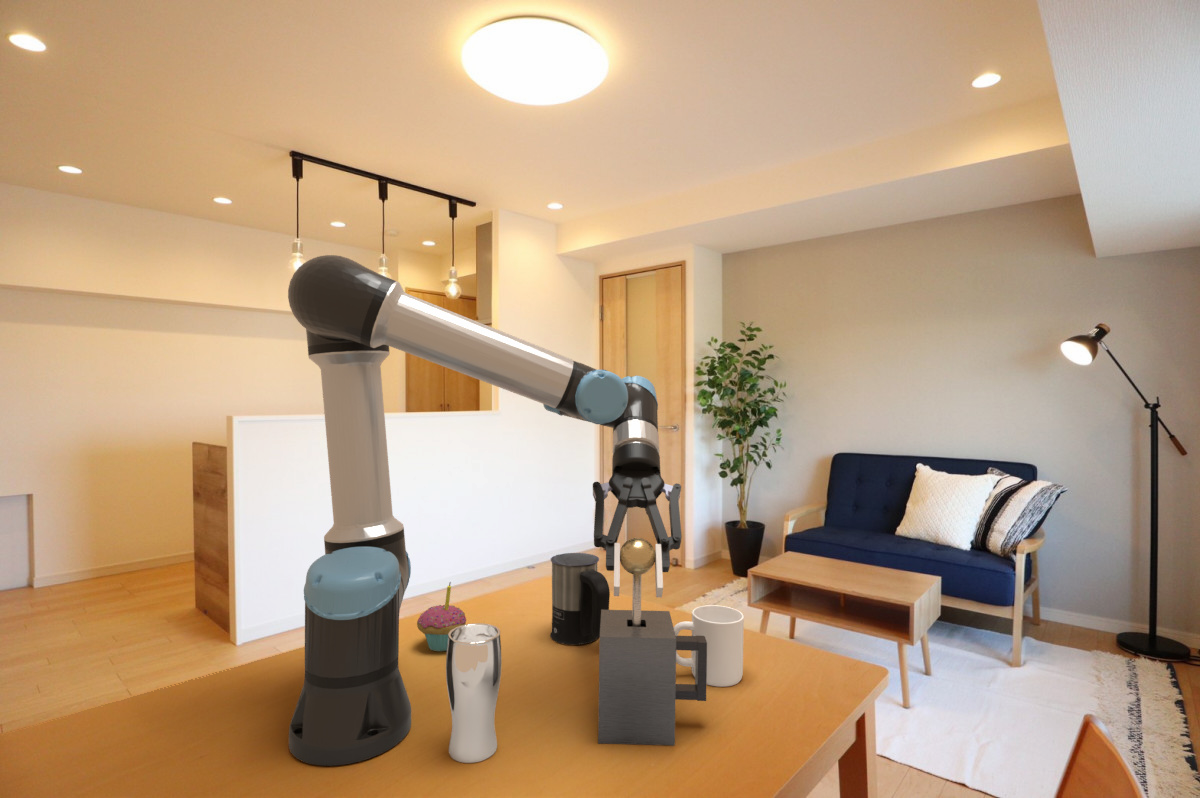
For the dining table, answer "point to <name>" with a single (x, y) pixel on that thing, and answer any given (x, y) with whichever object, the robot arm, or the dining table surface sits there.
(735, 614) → the cup
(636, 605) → the plunger
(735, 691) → the dining table surface
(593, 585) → the milk frother
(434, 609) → the cupcake
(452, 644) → the beer glass
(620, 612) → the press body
